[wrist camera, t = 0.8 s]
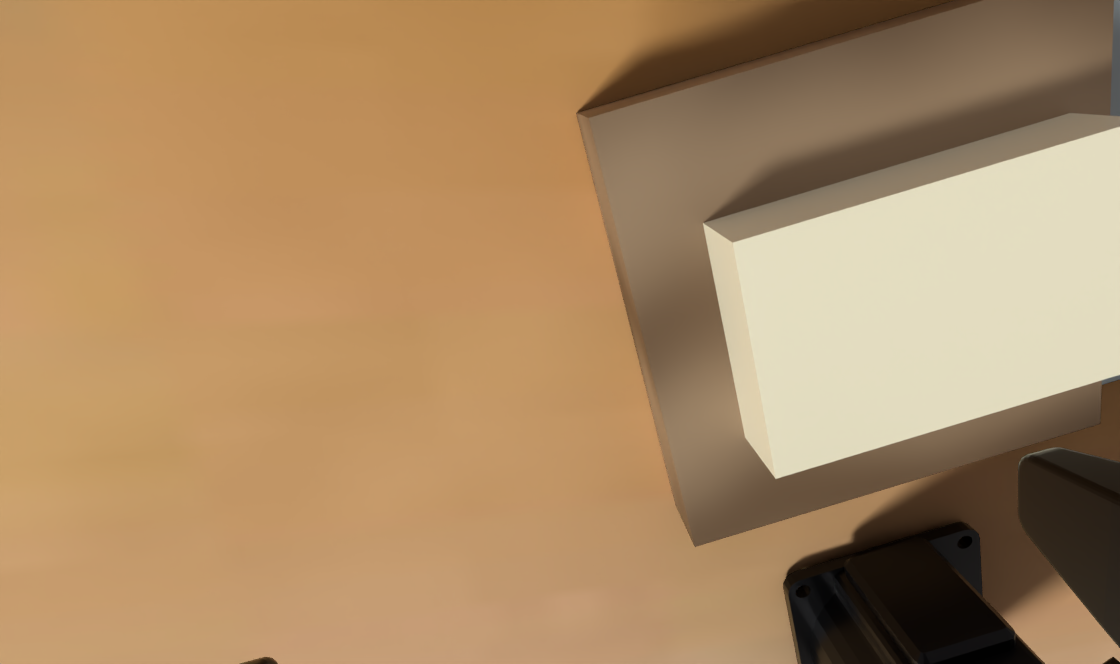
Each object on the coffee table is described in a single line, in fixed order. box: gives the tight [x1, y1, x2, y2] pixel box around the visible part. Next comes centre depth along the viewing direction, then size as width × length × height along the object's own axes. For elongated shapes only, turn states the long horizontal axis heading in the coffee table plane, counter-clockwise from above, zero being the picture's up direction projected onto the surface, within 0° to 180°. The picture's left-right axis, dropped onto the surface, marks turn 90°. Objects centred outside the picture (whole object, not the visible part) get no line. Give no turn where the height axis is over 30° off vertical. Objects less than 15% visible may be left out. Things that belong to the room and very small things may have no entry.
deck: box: [576, 0, 1114, 547], centre depth 18 cm, size 12×12×2 cm
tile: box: [703, 113, 1120, 479], centre depth 16 cm, size 6×9×2 cm, turn 106°
